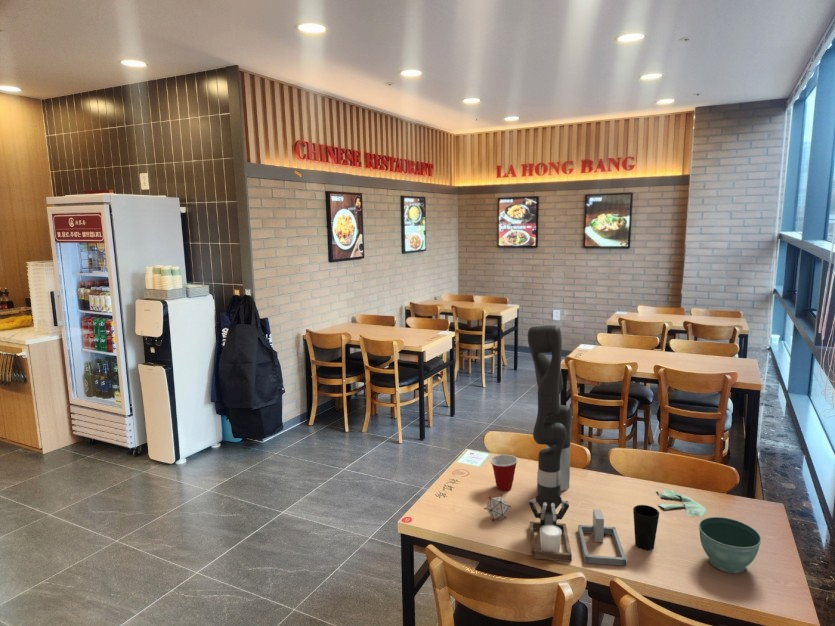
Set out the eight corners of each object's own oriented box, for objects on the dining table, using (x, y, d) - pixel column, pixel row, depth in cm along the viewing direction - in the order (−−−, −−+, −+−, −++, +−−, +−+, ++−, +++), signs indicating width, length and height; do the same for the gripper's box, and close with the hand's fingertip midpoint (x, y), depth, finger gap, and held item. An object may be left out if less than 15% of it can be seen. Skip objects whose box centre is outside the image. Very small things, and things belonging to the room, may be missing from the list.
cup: (655, 555, 170) (657, 519, 168) (629, 548, 174) (631, 513, 172) (659, 542, 176) (661, 508, 174) (634, 536, 180) (635, 502, 178)
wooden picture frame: (529, 526, 187) (529, 505, 186) (565, 529, 185) (566, 507, 184) (531, 558, 169) (532, 534, 168) (571, 561, 168) (572, 537, 166)
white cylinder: (563, 547, 175) (563, 526, 174) (559, 558, 169) (559, 538, 168) (541, 542, 178) (542, 522, 177) (537, 553, 172) (537, 533, 171)
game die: (501, 529, 193) (510, 517, 186) (479, 519, 194) (486, 507, 187) (507, 507, 199) (515, 495, 192) (485, 498, 200) (493, 485, 193)
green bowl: (771, 579, 157) (774, 545, 156) (717, 583, 156) (720, 548, 154) (735, 547, 173) (737, 515, 171) (686, 550, 172) (688, 518, 170)
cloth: (711, 522, 189) (711, 516, 188) (642, 513, 196) (643, 507, 195) (701, 495, 208) (701, 489, 207) (639, 487, 215) (640, 481, 214)
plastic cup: (496, 478, 223) (496, 451, 221) (521, 485, 217) (521, 456, 215) (485, 490, 214) (485, 461, 212) (511, 496, 208) (511, 467, 206)
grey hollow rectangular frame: (577, 530, 184) (578, 508, 183) (614, 532, 182) (615, 510, 181) (585, 562, 167) (585, 538, 165) (626, 565, 165) (627, 541, 163)
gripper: (569, 476, 183) (568, 524, 185) (527, 474, 185) (526, 521, 188) (572, 487, 175) (570, 537, 178) (527, 485, 178) (527, 533, 180)
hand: (548, 528), depth 183 cm, fingers closed on wooden picture frame, 2 cm apart
